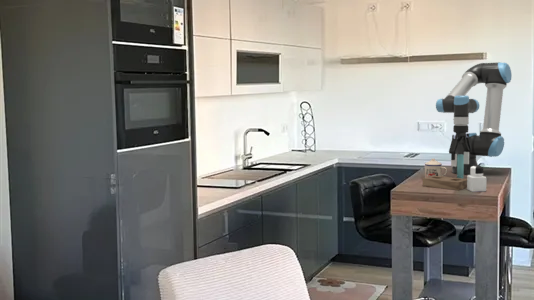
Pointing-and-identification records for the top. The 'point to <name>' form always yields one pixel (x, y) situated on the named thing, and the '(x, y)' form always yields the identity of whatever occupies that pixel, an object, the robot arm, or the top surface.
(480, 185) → the medicine bottle
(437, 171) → the teacup with lid
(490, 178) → the top surface
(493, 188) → the top surface
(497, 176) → the top surface
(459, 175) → the teal peg
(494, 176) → the top surface
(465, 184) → the walnut hole block
